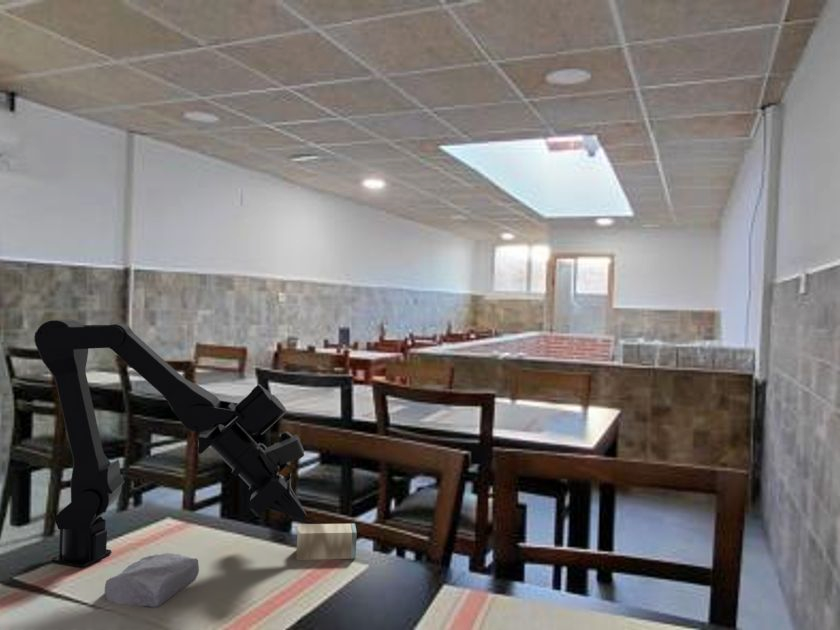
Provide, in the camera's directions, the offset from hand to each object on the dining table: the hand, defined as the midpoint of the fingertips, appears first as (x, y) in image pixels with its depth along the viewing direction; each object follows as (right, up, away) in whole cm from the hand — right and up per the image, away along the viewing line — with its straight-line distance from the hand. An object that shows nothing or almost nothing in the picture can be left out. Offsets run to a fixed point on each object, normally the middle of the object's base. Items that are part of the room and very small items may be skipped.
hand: (304, 517), depth 112 cm
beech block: (-1, -4, 0) cm, 4 cm away
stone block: (-20, -6, -15) cm, 26 cm away
